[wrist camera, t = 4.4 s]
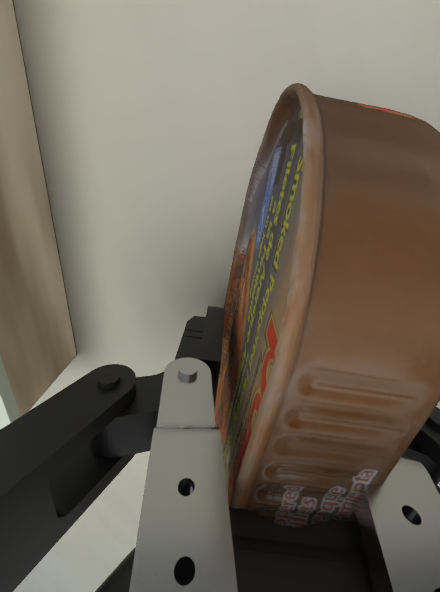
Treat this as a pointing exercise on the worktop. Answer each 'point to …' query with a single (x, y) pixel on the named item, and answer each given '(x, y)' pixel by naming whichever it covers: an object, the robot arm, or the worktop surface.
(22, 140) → the plinth
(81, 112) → the worktop surface
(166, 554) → the robot arm
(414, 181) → the tin
